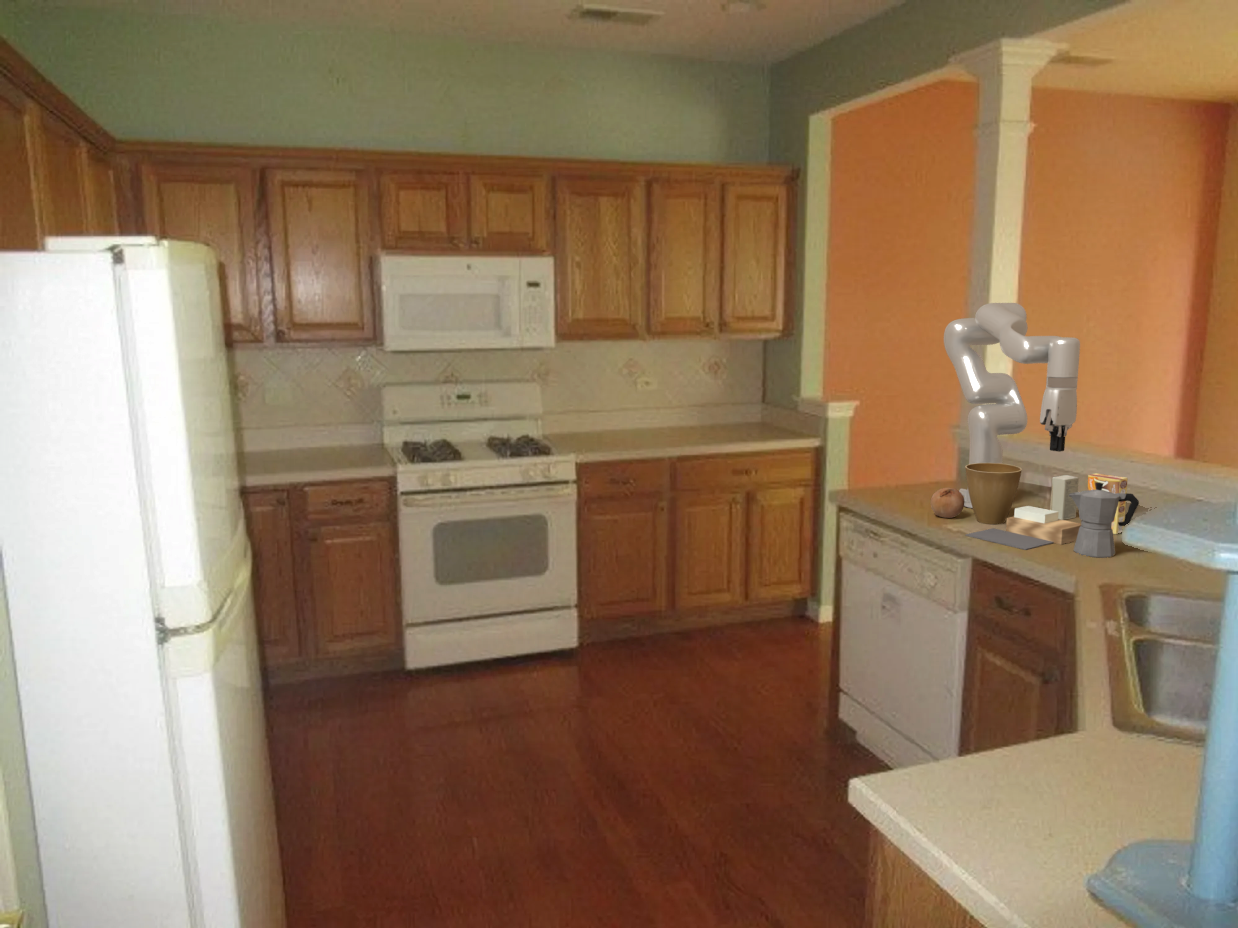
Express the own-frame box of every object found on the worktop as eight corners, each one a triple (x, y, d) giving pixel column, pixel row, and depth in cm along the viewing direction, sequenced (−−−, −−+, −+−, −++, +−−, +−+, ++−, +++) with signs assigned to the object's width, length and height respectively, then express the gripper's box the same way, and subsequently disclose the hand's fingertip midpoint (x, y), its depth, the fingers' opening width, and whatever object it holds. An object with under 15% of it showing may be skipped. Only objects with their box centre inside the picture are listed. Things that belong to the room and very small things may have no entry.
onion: (948, 529, 258) (949, 503, 253) (923, 515, 265) (923, 489, 260) (971, 515, 262) (972, 488, 256) (945, 501, 269) (946, 475, 263)
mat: (965, 535, 240) (965, 534, 240) (993, 529, 246) (993, 528, 246) (1025, 550, 225) (1025, 548, 225) (1053, 542, 231) (1053, 541, 231)
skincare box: (1063, 515, 262) (1066, 474, 259) (1076, 518, 258) (1079, 477, 256) (1048, 517, 259) (1051, 476, 257) (1062, 520, 255) (1065, 479, 253)
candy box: (1124, 532, 241) (1128, 477, 238) (1115, 535, 238) (1120, 479, 236) (1091, 526, 248) (1096, 472, 245) (1083, 528, 246) (1087, 474, 243)
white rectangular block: (1014, 517, 243) (1014, 508, 243) (1027, 514, 246) (1028, 505, 246) (1044, 523, 236) (1045, 514, 235) (1057, 520, 239) (1058, 511, 238)
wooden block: (1006, 532, 243) (1006, 517, 242) (1028, 527, 248) (1029, 513, 247) (1061, 544, 229) (1062, 529, 229) (1083, 538, 235) (1084, 524, 234)
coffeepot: (1066, 555, 219) (1072, 484, 216) (1062, 546, 228) (1067, 477, 225) (1137, 561, 214) (1144, 488, 211) (1130, 551, 223) (1136, 480, 220)
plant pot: (957, 515, 263) (960, 462, 261) (1010, 516, 261) (1014, 463, 258) (968, 527, 249) (971, 471, 246) (1024, 528, 246) (1028, 472, 244)
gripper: (1064, 381, 245) (1060, 446, 249) (1031, 384, 238) (1027, 451, 241) (1091, 382, 239) (1086, 449, 242) (1058, 386, 231) (1053, 455, 235)
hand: (1056, 450), depth 242 cm, fingers closed
